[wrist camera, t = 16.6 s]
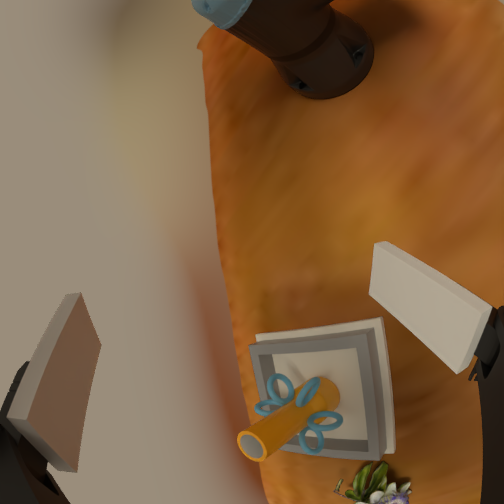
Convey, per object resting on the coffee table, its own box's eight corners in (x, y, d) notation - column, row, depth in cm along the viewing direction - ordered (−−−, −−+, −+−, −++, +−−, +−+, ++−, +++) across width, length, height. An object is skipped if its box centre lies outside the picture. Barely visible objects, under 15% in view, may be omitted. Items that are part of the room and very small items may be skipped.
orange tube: (372, 415, 31) (316, 484, 20) (315, 437, 37) (250, 491, 25) (328, 342, 36) (253, 382, 25) (277, 373, 42) (200, 409, 30)
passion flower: (415, 469, 31) (411, 531, 21) (354, 479, 36) (344, 538, 26) (406, 449, 28) (402, 528, 18) (333, 461, 33) (318, 533, 23)
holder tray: (259, 333, 45) (242, 339, 42) (382, 316, 32) (372, 323, 29) (282, 440, 42) (267, 451, 39) (395, 449, 29) (386, 466, 26)
